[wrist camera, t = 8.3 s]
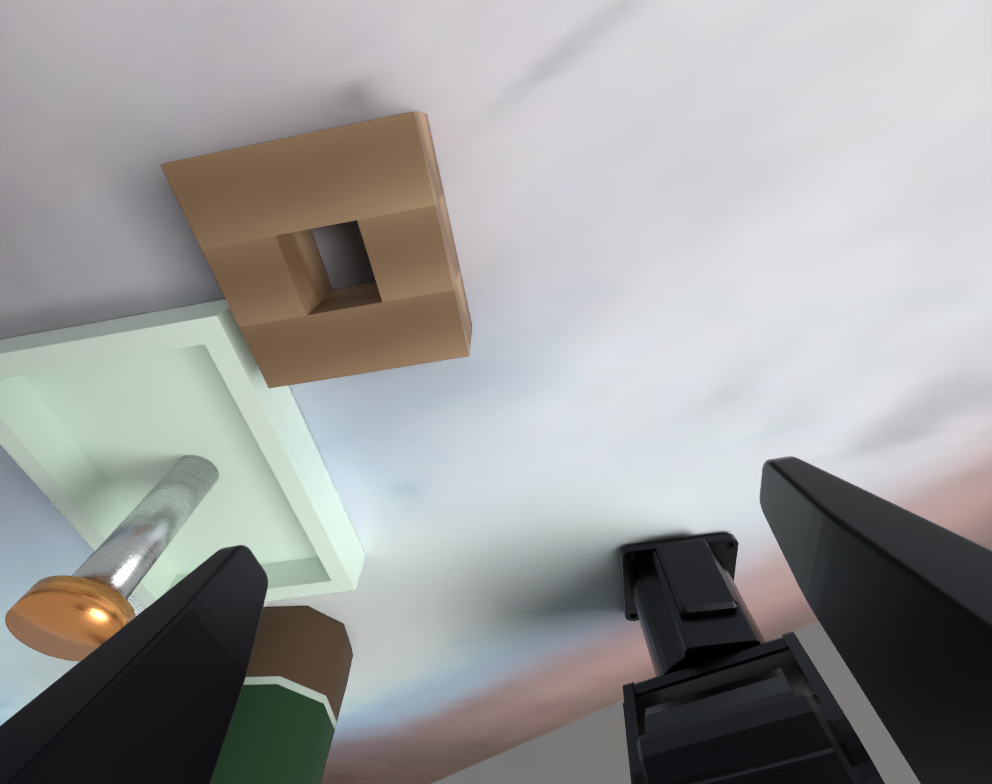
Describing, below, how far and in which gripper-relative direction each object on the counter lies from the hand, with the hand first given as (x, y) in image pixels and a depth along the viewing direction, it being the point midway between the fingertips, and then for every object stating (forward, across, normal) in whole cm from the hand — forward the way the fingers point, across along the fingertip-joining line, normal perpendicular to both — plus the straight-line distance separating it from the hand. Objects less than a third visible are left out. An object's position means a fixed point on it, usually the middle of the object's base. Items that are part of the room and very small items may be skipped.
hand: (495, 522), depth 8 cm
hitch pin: (+12, +16, +6) cm, 21 cm away
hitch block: (+13, +5, -3) cm, 14 cm away
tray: (+13, +16, +6) cm, 22 cm away
